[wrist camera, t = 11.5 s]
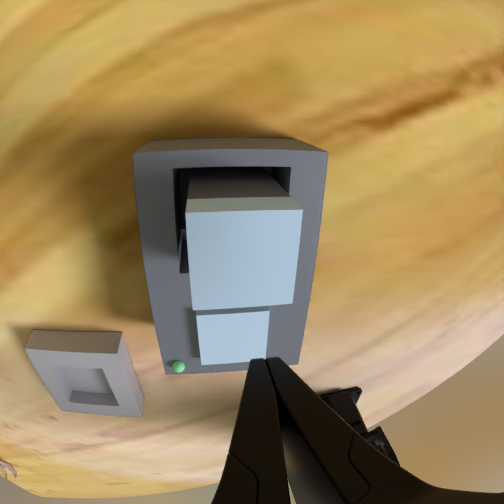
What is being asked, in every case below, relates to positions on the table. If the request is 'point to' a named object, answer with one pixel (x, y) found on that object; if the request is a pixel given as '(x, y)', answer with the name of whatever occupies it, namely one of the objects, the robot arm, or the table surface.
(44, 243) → the table surface
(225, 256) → the plug
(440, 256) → the table surface
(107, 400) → the cradle
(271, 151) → the grey dispenser box
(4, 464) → the anime figure
